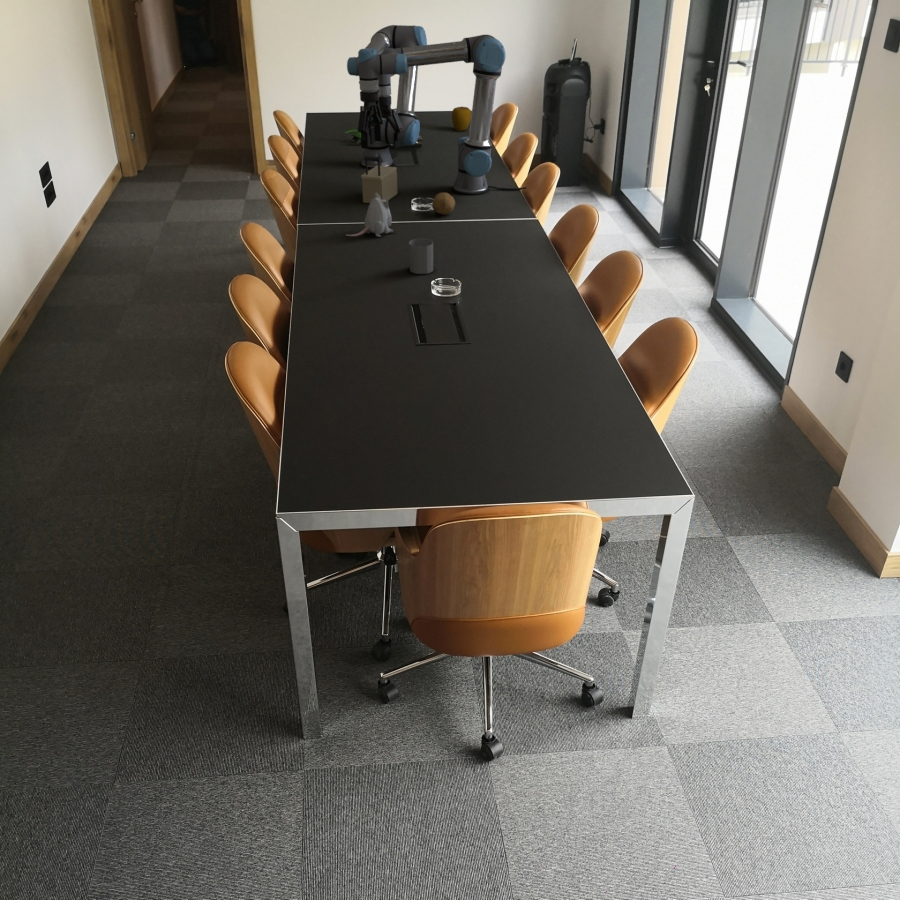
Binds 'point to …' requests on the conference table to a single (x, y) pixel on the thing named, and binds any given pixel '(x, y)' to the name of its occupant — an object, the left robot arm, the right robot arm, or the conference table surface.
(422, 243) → the cup
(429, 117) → the conference table surface
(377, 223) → the toy
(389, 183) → the chest
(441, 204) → the potato
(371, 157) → the lid
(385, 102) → the left robot arm
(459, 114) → the apple
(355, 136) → the green dinosaur
